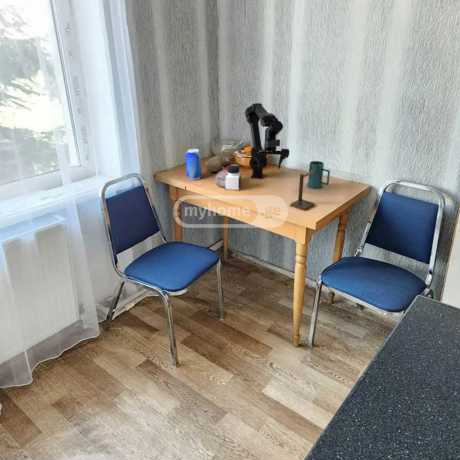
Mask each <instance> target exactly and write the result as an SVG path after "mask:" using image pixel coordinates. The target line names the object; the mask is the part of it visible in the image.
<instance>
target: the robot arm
mask: <svg viewBox="0 0 460 460" xmlns="http://www.w3.org/2000/svg"><path fill="white" fill-rule="evenodd" d="M244 117H245V120H246V122H247V124H248V125H249V127H250V135H251V140H252V147H251V148H250V156H251V157H250V159H249V161H248V163H249V164H248V165H249V167H250V168H251V169H252V174H251V177H250V178H251V179H261V180H262V179H264V172H263V170H264V168H266V167H267V165H268V157H267V155H277V156H279V158H278V159H279V160H278V166H277V170H280V168H281V165H282V163H283V161H284V160H287V159H288V158H289V156H290V149H289V148H281V149H280V150H277V147H281V139H277V136H278V135H279V134H280V133H281V131H282V130H283V129H284V124H283V123H282V122H281V121H280V120H279V119H278V117H277V116H276V115H275V114H273V113H271V112H268V111H267V109H265V107H264V106H263V104H262V103H261V102H258V103H252V104H251V105H250V106H248V107H247V108H246V109H245V110H244ZM259 123H260V125H259ZM260 126H261V127H263V128H265V129H264V143H263V144H264V145H263V147H262V140H261V133H260Z"/></svg>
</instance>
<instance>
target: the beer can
mask: <svg viewBox="0 0 460 460" xmlns="http://www.w3.org/2000/svg"><path fill="white" fill-rule="evenodd" d="M185 165H186V166H185V168H186V177H187V178H188V179H187V180H191V181H198V180H200V179H201V177H202V176H203V171H202V170H203V169H202V153H201V152H200V149H199V148H190V149H187V150H186V154H185Z"/></svg>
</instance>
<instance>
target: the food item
mask: <svg viewBox="0 0 460 460" xmlns="http://www.w3.org/2000/svg"><path fill="white" fill-rule="evenodd" d="M221 169H222V170H219V171H217V173H216V175H215V185H216V186H218V187H220V188H223V189H226V176H227V175H228V166H225V167H224V166H223V167H222V168H221Z"/></svg>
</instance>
